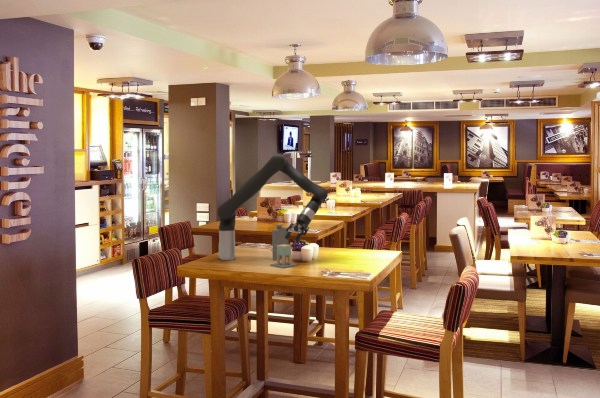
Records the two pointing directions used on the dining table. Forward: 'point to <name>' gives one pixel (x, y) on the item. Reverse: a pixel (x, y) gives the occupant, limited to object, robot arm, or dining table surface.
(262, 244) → the dining table surface
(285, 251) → the stool
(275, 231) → the hip flask
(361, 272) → the dining table surface
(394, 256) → the dining table surface
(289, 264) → the slate mat
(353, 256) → the dining table surface
